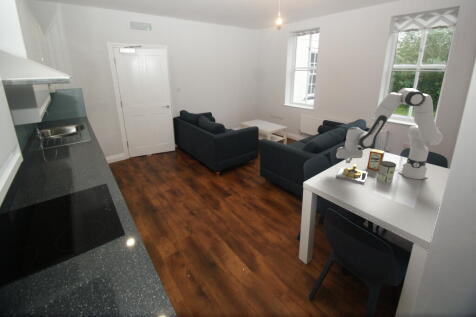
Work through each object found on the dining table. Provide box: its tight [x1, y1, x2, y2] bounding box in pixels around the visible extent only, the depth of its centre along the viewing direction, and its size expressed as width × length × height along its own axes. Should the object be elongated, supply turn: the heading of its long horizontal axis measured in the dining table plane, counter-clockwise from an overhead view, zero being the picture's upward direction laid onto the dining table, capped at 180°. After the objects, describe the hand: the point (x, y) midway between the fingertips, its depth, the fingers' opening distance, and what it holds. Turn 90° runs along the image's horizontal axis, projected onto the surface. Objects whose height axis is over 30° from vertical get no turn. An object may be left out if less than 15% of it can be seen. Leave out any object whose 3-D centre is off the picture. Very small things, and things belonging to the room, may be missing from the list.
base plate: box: [335, 166, 369, 185], centre depth 184 cm, size 20×20×6 cm
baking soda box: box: [366, 148, 385, 172], centre depth 195 cm, size 10×6×16 cm
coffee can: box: [376, 160, 397, 184], centre depth 175 cm, size 10×10×14 cm
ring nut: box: [343, 163, 363, 177], centre depth 185 cm, size 13×18×4 cm
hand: (347, 162), depth 191 cm, fingers closed
